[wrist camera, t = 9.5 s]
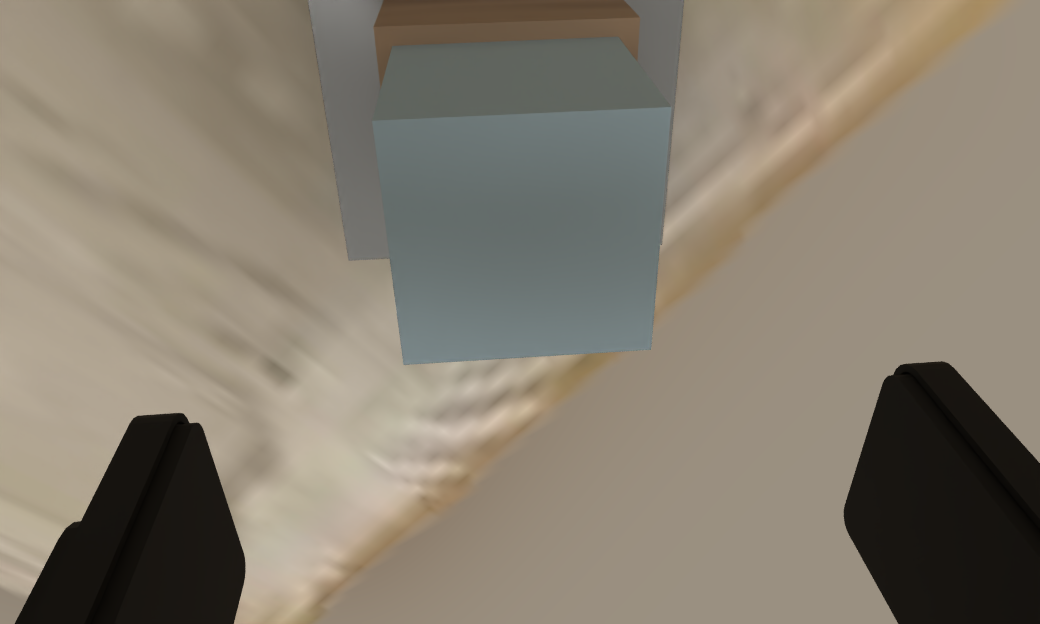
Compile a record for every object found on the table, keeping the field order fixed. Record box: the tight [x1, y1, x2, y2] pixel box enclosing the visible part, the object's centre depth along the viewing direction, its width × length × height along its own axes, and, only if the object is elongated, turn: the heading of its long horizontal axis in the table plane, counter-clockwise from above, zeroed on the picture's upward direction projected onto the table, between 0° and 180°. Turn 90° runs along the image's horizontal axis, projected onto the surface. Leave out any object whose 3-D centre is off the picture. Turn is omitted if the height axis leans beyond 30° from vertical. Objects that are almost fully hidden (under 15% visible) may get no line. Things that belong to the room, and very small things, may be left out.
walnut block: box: [373, 0, 640, 89], centre depth 24 cm, size 7×7×5 cm
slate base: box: [308, 0, 684, 260], centre depth 27 cm, size 12×12×2 cm
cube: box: [372, 37, 671, 365], centre depth 20 cm, size 6×6×6 cm
